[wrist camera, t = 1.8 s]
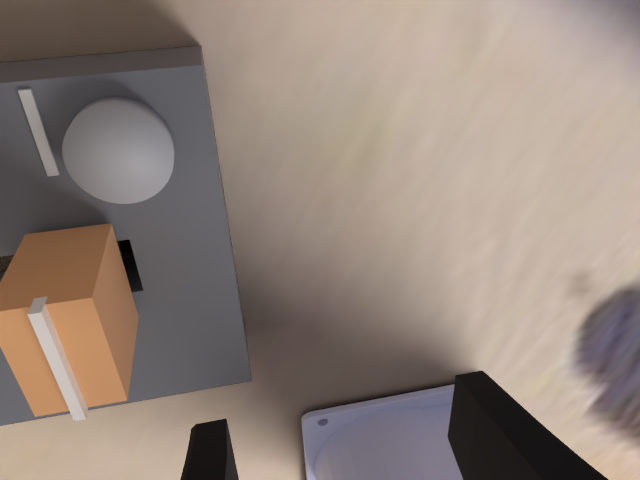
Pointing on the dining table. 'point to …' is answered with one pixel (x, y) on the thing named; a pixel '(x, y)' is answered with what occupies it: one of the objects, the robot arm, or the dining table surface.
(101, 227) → the fader tab
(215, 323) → the console board
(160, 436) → the dining table surface
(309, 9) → the dining table surface
